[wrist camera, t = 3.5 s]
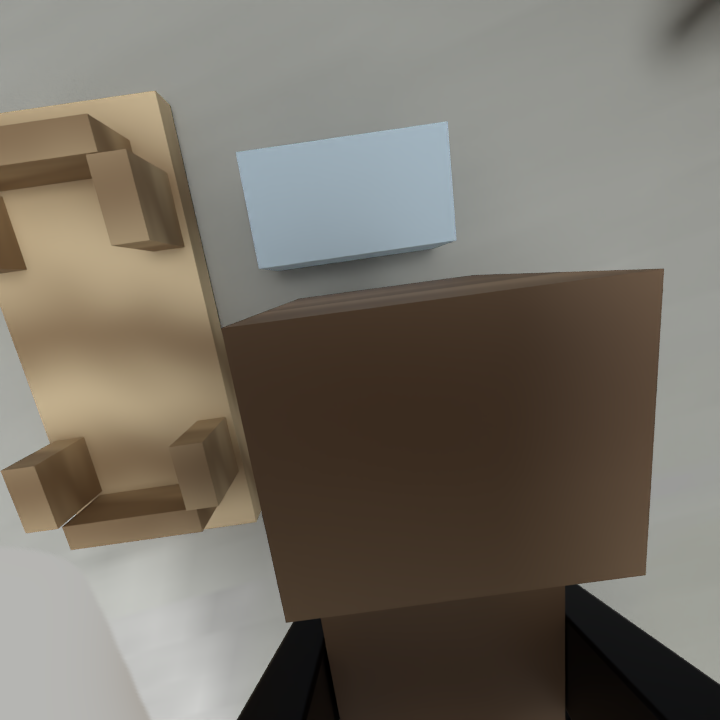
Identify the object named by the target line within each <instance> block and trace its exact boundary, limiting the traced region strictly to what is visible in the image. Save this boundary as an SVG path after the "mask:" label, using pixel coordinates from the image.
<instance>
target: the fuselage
mask: <svg viewBox="0 0 720 720" xmlns="http://www.w3.org/2000/svg"><path fill="white" fill-rule="evenodd" d="M663 276H664V269H641V270H611V271H582V272H552V273H523V274H493V275H471V276H464V277H456V278H449V279H441V280H434V281H427V282H419V283H412V284H404V285H397V286H389V287H382V288H375V289H367V290H360V291H352V292H345V293H337V294H330V295H323V296H315V297H308V298H300V299H297V300H294V301H292V302H289V303H286V304H284V305H281V306H278V307H276V308H273V309H271V310H268V311H265V312H263V313H260V314H257V315H255V316H252V317H249V318H247V319H244V320H242V321H239V322H236V323H234V324H231V325H228V326H226V327H223V328H221V330H222V335H223V339H224V344H225V348H226V353H227V357H228V362H229V366H230V371H231V375H232V380H233V385H234V389H235V394H236V398H237V403H238V407H239V412H240V416H241V421H242V425H243V430H244V434H245V439H246V443H247V448H248V452H249V457H250V461H251V466H252V471H253V475H254V480H255V484H256V489H257V493H258V498H259V502H260V507H261V511H262V516H263V520H264V525H265V529H266V534H267V538H268V543H269V547H270V552H271V557H272V561H273V566H274V570H275V575H276V579H277V584H278V588H279V593H280V597H281V602H282V606H283V611H284V615H285V620H286V623H287V622H295V621H302V620H310V619H318V618H321V623H322V628H323V633H324V638H325V643H326V649H327V654H328V659H329V664H330V669H331V674H332V680H333V685H334V690H335V695H336V700H337V706H338V711H339V716H340V720H565V586H567V585H574V584H582V583H589V582H597V581H604V580H612V579H619V578H627V577H634V576H642V575H646V558H647V541H648V525H649V508H650V492H651V475H652V459H653V442H654V425H655V409H656V392H657V376H658V359H659V343H660V326H661V310H662V293H663Z"/></svg>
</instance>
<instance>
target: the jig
mask: <svg viewBox="0 0 720 720" xmlns="http://www.w3.org/2000/svg"><path fill="white" fill-rule="evenodd" d="M0 307H1V310H2V312H3V315H4V318H5V321H6V323H7V326H8V329H9V332H10V334H11V337H12V340H13V342H14V345H15V348H16V351H17V353H18V356H19V359H20V362H21V364H22V367H23V370H24V373H25V375H26V378H27V381H28V384H29V386H30V389H31V392H32V395H33V397H34V400H35V403H36V406H37V408H38V411H39V414H40V417H41V419H42V422H43V425H44V428H45V430H46V433H47V436H48V439H49V441H50V444H49V445H47V446H45V447H44V448H42V449H40V450H38V451H36V452H34V453H33V454H31V455H29V456H27V457H25V458H23V459H22V460H20V461H18V462H16V463H14V464H12V465H11V466H9V467H7V468H5V469H3V470H2V471H1V473H2V475H3V478H4V480H5V483H6V485H7V488H8V490H9V493H10V495H11V498H12V500H13V503H14V505H15V507H16V510H17V512H18V515H19V517H20V520H21V522H22V525H23V527H24V530H25V532H26V533H32V532H39V531H46V530H53V529H58V528H60V527H61V526H62V525H63V524H64V523H65V522H67V521H68V520H69V519H70V518H71V517H72V516H74V515H75V514H76V516H75V517H73V518H72V519H71V520H70V521H69V522H68V523H67V524H65V525H64V526H63V527H62V528H63V530H64V533H65V536H66V538H67V541H68V543H69V546H70V549H71V550H75V549H82V548H89V547H96V546H103V545H110V544H117V543H124V542H132V541H139V540H146V539H153V538H160V537H167V536H174V535H181V534H189V533H196V532H203V530H204V529H210V528H218V527H225V526H232V525H239V524H246V523H253V522H257V519H258V517H259V514H260V512H261V507H260V502H259V498H258V493H257V489H256V484H255V480H254V475H253V471H252V466H251V461H250V457H249V452H248V448H247V443H246V439H245V434H244V430H243V425H242V421H241V416H240V412H239V407H238V403H237V398H236V394H235V389H234V385H233V380H232V375H231V371H230V366H229V362H228V357H227V353H226V348H225V344H224V339H223V335H222V331H221V326H220V322H219V318H218V313H217V309H216V304H215V300H214V296H213V291H212V287H211V283H210V278H209V274H208V270H207V265H206V261H205V256H204V252H203V248H202V243H201V239H200V235H199V230H198V226H197V221H196V217H195V213H194V208H193V204H192V200H191V195H190V191H189V186H188V182H187V178H186V173H185V169H184V165H183V160H182V156H181V151H180V147H179V143H178V138H177V134H176V130H175V125H174V121H173V116H172V112H171V108H170V105H169V104H168V103H167V102H166V101H165V100H164V99H163V98H162V97H161V96H160V95H159V94H158V93H157V92H156V91H150V92H143V93H136V94H129V95H122V96H115V97H108V98H102V99H95V100H88V101H81V102H74V103H67V104H60V105H53V106H46V107H40V108H33V109H26V110H19V111H12V112H5V113H0Z"/></svg>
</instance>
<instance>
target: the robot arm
mask: <svg viewBox="0 0 720 720" xmlns="http://www.w3.org/2000/svg"><path fill="white" fill-rule="evenodd" d="M237 720H340V716H339V711H338V706H337V700H336V695H335V690H334V685H333V680H332V674H331V669H330V664H329V659H328V654H327V649H326V643H325V638H324V633H323V628H322V623H321V618H318V619H310V620H302V621H295V622H293V623H292V625H291V627H290V629H289V630H288V632H287V634H286V636H285V637H284V639H283V641H282V643H281V644H280V646H279V648H278V649H277V651H276V653H275V655H274V656H273V658H272V660H271V662H270V663H269V665H268V667H267V668H266V670H265V672H264V674H263V675H262V677H261V679H260V681H259V682H258V684H257V686H256V688H255V689H254V691H253V693H252V694H251V696H250V698H249V700H248V701H247V703H246V705H245V707H244V708H243V710H242V712H241V714H240V715H239V717H238V719H237ZM565 720H720V684H719V683H717V682H716V681H714V680H713V679H711V678H710V677H709V676H707V675H706V674H704V673H703V672H701V671H700V670H699V669H697V668H696V667H694V666H693V665H692V664H690V663H689V662H687V661H686V660H684V659H683V658H682V657H680V656H679V655H677V654H676V653H674V652H673V651H672V650H670V649H669V648H667V647H666V646H664V645H663V644H662V643H660V642H659V641H657V640H656V639H655V638H653V637H652V636H650V635H649V634H647V633H646V632H645V631H643V630H642V629H640V628H639V627H637V626H636V625H635V624H633V623H632V622H630V621H629V620H628V619H626V618H625V617H623V616H622V615H620V614H619V613H618V612H616V611H615V610H613V609H612V608H610V607H609V606H608V605H606V604H605V603H603V602H602V601H601V600H599V599H598V598H596V597H595V596H593V595H592V594H591V593H589V592H588V591H586V590H585V589H583V588H582V587H581V586H579V585H578V584H574V585H567V586H565Z"/></svg>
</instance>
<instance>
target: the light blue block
mask: <svg viewBox="0 0 720 720" xmlns="http://www.w3.org/2000/svg"><path fill="white" fill-rule="evenodd" d="M236 156H237V161H238V166H239V171H240V176H241V181H242V186H243V191H244V196H245V201H246V206H247V211H248V216H249V221H250V226H251V231H252V236H253V241H254V246H255V251H256V256H257V262H258V267H259V269H265V270H274V271H282V270H289V269H296V268H303V267H310V266H317V265H323V264H330V263H337V262H344V261H351V260H358V259H365V258H372V257H379V256H386V255H393V254H399V253H406V252H413V251H420V250H427V249H433V248H436V247H439V246H442V245H445V244H447V243H450V242H453V241H456V227H455V214H454V200H453V187H452V174H451V160H450V147H449V134H448V121H446V122H440V123H433V124H426V125H419V126H412V127H405V128H398V129H392V130H385V131H378V132H371V133H364V134H357V135H350V136H343V137H337V138H330V139H323V140H316V141H309V142H302V143H295V144H289V145H282V146H275V147H268V148H261V149H254V150H247V151H241V152H236Z"/></svg>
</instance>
